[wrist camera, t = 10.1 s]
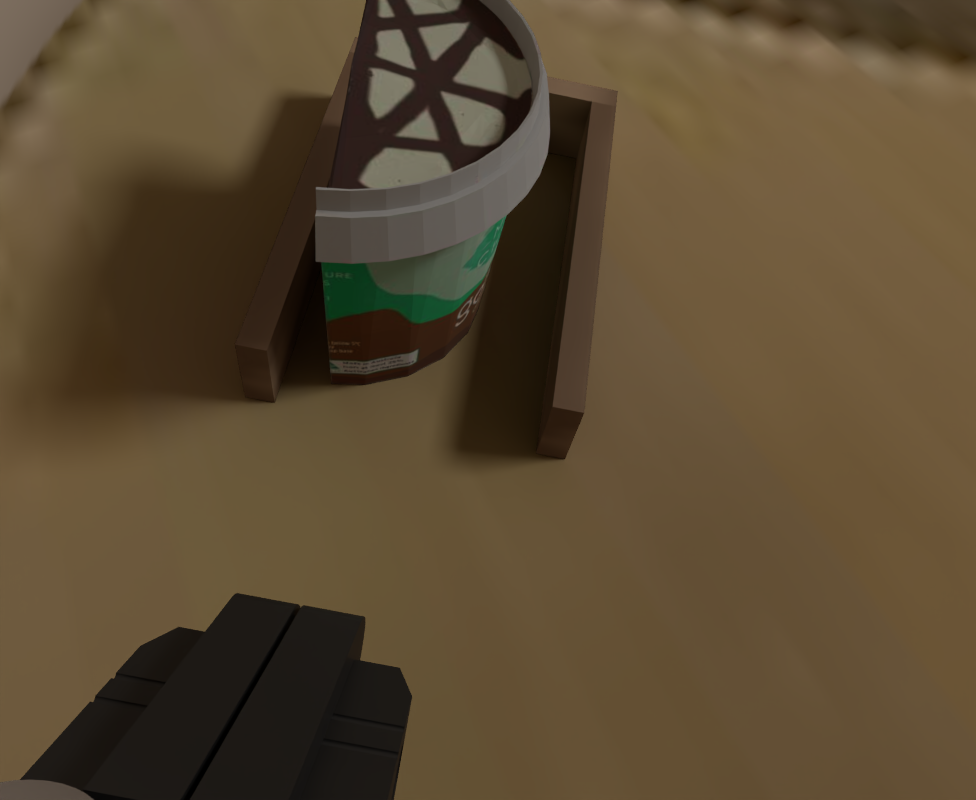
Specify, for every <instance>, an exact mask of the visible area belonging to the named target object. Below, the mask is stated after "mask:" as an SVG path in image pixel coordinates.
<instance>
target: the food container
mask: <svg viewBox="0 0 976 800" xmlns="http://www.w3.org/2000/svg"><path fill="white" fill-rule="evenodd" d="M549 138H550V114H549V90H548V81H547V73H546V70H545V67H544V65H543V62H542V59H541V53H540V50H539V47H538V44H537V41H536V38H535V36H534V33H533V32H532V30H531V28H530V27H529V25H528V23H527V22H526V20H525V18H524V17H523V15H522V14H521V13H520V12H519V11H518V10H517V8H516V7H515V6H514V5H513V4H512V3H511V1H510V0H366V4H365V9H364V13H363V18H362V22H361V27H360V32H359V36H358V40H357V44H356V48H355V52H354V56H353V60H352V64H351V70H350V76H349V82H348V88H347V94H346V100H345V105H344V110H343V115H342V120H341V125H340V130H339V135H338V140H337V145H336V150H335V155H334V160H333V165H332V170H331V175H330V181H329V186H328V188H324V187H316V208H317V210H316V214H315V242H316V262H321V266H322V278H323V290H324V302H325V313H326V325H327V337H328V349H329V361H330V373H331V384H358V385H366V384H371V383H376V382H381V381H386V380H391V379H396V378H401V377H406V376H409V375H411V374H413V373H415V372H417V371H419V370H421V369H423V368H425V367H427V366H429V365H431V364H432V363H434V362H436V361H438V360H440V359H442V358H444V357H445V356H446V355H447V354H448V353H449V352H450V351H451V349H452V348H453V347H454V346H455V345H456V344H457V343H458V342H459V341H460V340H461V339H462V338H463V337H464V336H465V335H466V334H467V333H468V331H469V329H470V326H471V324H472V322H473V320H474V317H475V315H476V313H477V311H478V308H479V304H480V301H481V298H482V295H483V291H484V288H485V285H486V281H487V278H488V275H489V272H490V268H491V265H492V262H493V258H494V255H495V252H496V249H497V245H498V242H499V239H500V235H501V232H502V229H503V226H504V222H505V219H506V216H507V215H508V214H509V213H510V212H511V211H512V210H513V209H514V208H515V207H516V206H517V205H518V204H519V203H520V202H521V201H522V200H523V199H524V198H525V197H526V196H527V194H528V193H529V191H530V190H531V188H532V186H533V185H534V183H535V182H536V180H537V179H538V177H539V176H540V173H541V171H542V168H543V165H544V162H545V160H546V157H547V154H548V146H549Z"/></svg>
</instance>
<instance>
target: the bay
mask: <svg viewBox="0 0 976 800" xmlns="http://www.w3.org/2000/svg"><path fill="white" fill-rule="evenodd" d="M357 40H358V38H357V37H355V39H354V42H353V44H352V47H351V49H350V52H349V54H348V57H347V59H346V62H345V65H344V67H343V70H342V72H341V75H340V77H339V80H338V82H337V85H336V87H335V90H334V93H333V95H332V98H331V100H330V103H329V105H328V108H327V110H326V113H325V116H324V118H323V121H322V123H321V126H320V128H319V131H318V133H317V136H316V139H315V141H314V144H313V146H312V149H311V151H310V154H309V156H308V159H307V161H306V164H305V167H304V169H303V172H302V174H301V177H300V179H299V182H298V184H297V187H296V190H295V192H294V195H293V197H292V200H291V202H290V205H289V207H288V210H287V212H286V215H285V218H284V220H283V223H282V225H281V228H280V230H279V233H278V235H277V238H276V241H275V243H274V246H273V248H272V251H271V253H270V256H269V258H268V261H267V263H266V266H265V269H264V271H263V274H262V276H261V279H260V281H259V284H258V286H257V289H256V292H255V294H254V297H253V299H252V302H251V304H250V307H249V309H248V312H247V314H246V317H245V320H244V322H243V325H242V327H241V330H240V332H239V335H238V337H237V340H236V343H235V348H236V353H237V358H238V363H239V368H240V373H241V378H242V383H243V388H244V393H245V397H249V398H254V399H259V400H264V401H269V402H274V403H275V400H276V397H277V394H278V391H279V388H280V386H281V383H282V380H283V377H284V374H285V371H286V368H287V365H288V362H289V359H290V356H291V354H292V351H293V348H294V345H295V342H296V339H297V336H298V333H299V330H300V327H301V324H302V322H303V319H304V316H305V313H306V310H307V307H308V304H309V301H310V298H311V295H312V292H313V290H314V287H315V284H316V281H317V278H318V275H319V272H320V269H321V262H316V242H315V214H316V210H317V208H316V187H324V188H328V186H329V181H330V175H331V170H332V165H333V160H334V155H335V150H336V145H337V140H338V135H339V130H340V125H341V120H342V115H343V110H344V105H345V100H346V94H347V88H348V82H349V76H350V70H351V64H352V60H353V56H354V52H355V48H356V44H357ZM547 81H548V90H549V114H550V138H549V146H548V153H553V154H558V155H563V156H568V157H572V158H576V165H575V172H574V179H573V187H572V194H571V201H570V209H569V216H568V223H567V231H566V238H565V245H564V253H563V260H562V267H561V275H560V282H559V289H558V296H557V304H556V311H555V318H554V326H553V333H552V340H551V348H550V355H549V362H548V370H547V377H546V384H545V392H544V399H543V406H542V414H541V421H540V428H539V435H538V443H537V450H536V454H541V455H546V456H552V457H557V458H562V459H565V458H566V455H567V453H568V450H569V448H570V446H571V443H572V441H573V438H574V436H575V434H576V431H577V429H578V426H579V424H580V422H581V419H582V417H583V414H584V409H585V400H586V390H587V380H588V371H589V361H590V352H591V342H592V332H593V323H594V313H595V303H596V294H597V284H598V275H599V265H600V255H601V246H602V236H603V227H604V217H605V207H606V198H607V188H608V179H609V169H610V159H611V150H612V140H613V131H614V121H615V111H616V102H617V92H618V91H615V90H610V89H605V88H600V87H596V86H591V85H586V84H581V83H576V82H571V81H566V80H561V79H557V78H552V77H547Z"/></svg>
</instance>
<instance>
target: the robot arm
mask: <svg viewBox="0 0 976 800" xmlns="http://www.w3.org/2000/svg"><path fill="white" fill-rule="evenodd" d="M364 631H365V617H364V616H358V615H353V614H348V613H342V612H337V611H331V610H326V609H321V608H315V607H310V606H305V605H304V606H302V607H301V608H300V606H299V605H298V604H293V603H287V602H282V601H277V600H271V599H266V598H261V597H255V596H250V595H245V594H239V593H236V594H235V595H234V596H233V597H232V598H231V599H230V600H229V602H228V603H227V604H226V605H225V607H224V608H223V609H222V611H221V612H220V613H219V615H218V616H217V617H216V618H215V620H214V621H213V622H212V624H211V625H210V626H209V627H208V629H207V630H206V631H205V632H203V631H198V630H192V629H187V628H182V627H178V628H176V629H174V630H172V631H170V632H168V633H166V634H164V635H162V636H160V637H158V638H155V639H153V640H151V641H149V642H147V643H145V644H143V645H141V646H140V647H139V648H138V649H137V650H136V651H135V652H134V654H133V655H132V656H131V657H130V658H129V659H128V660H127V661H126V662H125V664H124V665H123V666H122V667H121V668H120V669H119V670H118V671H117V672H116V676H115V678H114V679H112V678H111V679H110V680H109V681H108V682H107V684H106V685H105V686H104V687H103V688H102V689H101V690H100V691H99V692H98V694H97V695H96V696H95V700H94V702H89V704H88V705H87V706H86V707H85V708H84V709H83V710H82V711H81V712H80V714H79V715H78V716H77V717H76V718H75V719H74V720H73V721H72V722H71V724H70V725H69V726H68V727H67V728H66V729H65V730H64V731H63V732H62V734H61V735H60V736H59V737H58V738H57V739H56V740H55V741H54V742H53V744H52V745H51V746H50V747H49V748H48V749H47V750H46V751H45V752H44V754H43V755H42V756H41V757H40V758H39V759H38V760H37V761H36V762H35V764H34V765H33V766H32V767H31V768H30V769H29V770H28V771H27V772H26V774H25V775H24V776H23V777H22V778H21V779H20V780H13V781H6V782H0V800H394V795H395V790H396V784H397V778H398V773H399V767H400V761H401V756H402V750H403V745H404V739H405V733H406V728H407V722H408V716H409V711H410V705H411V700H412V695H411V693H410V691H409V688H408V686H407V684H406V681H405V679H404V677H403V674H402V672H401V670H400V668H397V667H392V666H387V665H381V664H376V663H371V662H365V661H360V657H361V651H362V645H363V638H364Z"/></svg>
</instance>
